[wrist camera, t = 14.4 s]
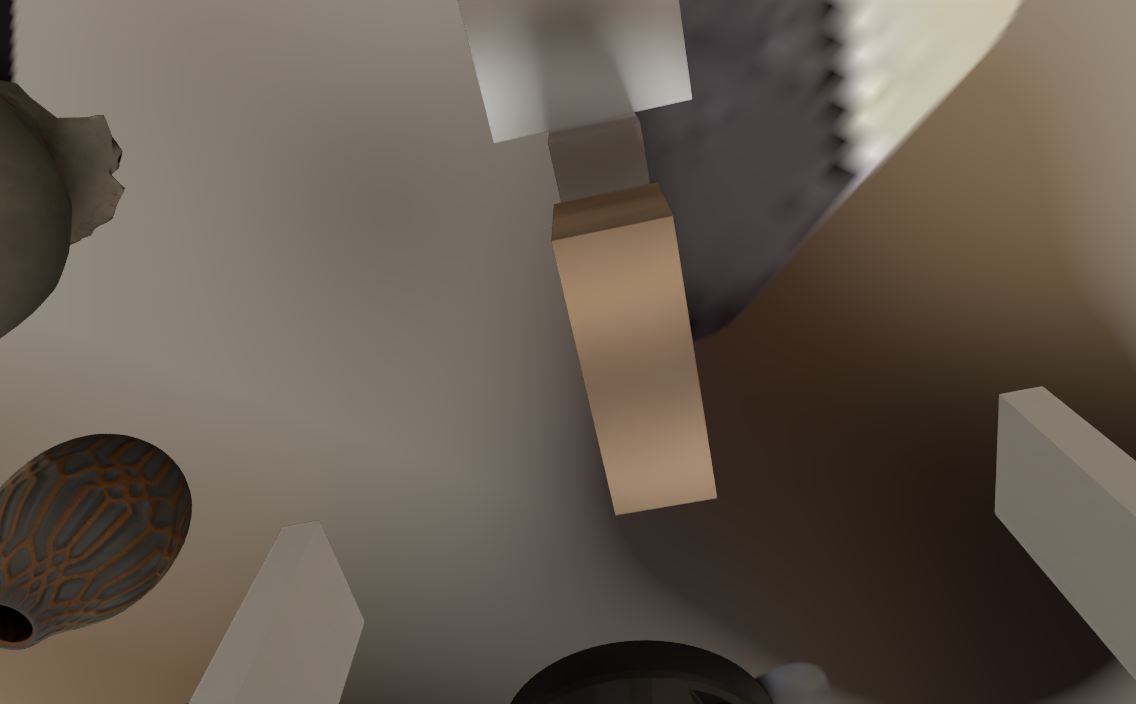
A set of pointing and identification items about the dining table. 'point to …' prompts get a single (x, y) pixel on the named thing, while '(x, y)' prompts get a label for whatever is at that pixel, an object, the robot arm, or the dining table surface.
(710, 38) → the dining table surface
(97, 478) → the vase
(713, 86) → the dining table surface
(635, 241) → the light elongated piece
